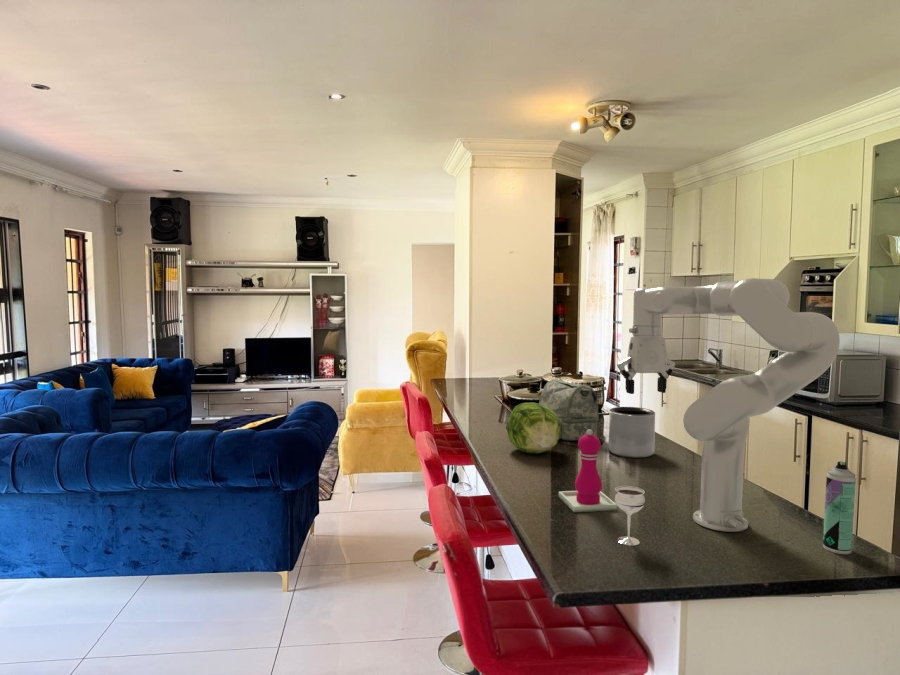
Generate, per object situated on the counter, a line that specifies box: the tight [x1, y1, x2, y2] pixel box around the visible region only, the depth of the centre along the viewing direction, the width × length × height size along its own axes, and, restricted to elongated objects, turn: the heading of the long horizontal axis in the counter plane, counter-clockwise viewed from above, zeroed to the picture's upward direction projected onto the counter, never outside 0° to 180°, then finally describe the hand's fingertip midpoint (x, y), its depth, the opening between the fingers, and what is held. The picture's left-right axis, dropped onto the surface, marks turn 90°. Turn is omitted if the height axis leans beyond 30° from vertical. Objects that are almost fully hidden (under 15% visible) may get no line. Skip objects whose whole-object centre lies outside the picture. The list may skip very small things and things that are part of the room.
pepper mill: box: [574, 429, 603, 505], centre depth 161 cm, size 7×7×20 cm
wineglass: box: [614, 485, 646, 546], centre depth 137 cm, size 7×7×12 cm
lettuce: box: [506, 401, 561, 454], centre depth 213 cm, size 19×23×18 cm
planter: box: [607, 406, 656, 459], centre depth 213 cm, size 16×16×16 cm
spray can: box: [822, 461, 857, 555], centre depth 133 cm, size 6×6×20 cm
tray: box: [558, 490, 618, 513], centre depth 162 cm, size 12×12×2 cm
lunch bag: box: [538, 378, 600, 441], centre depth 240 cm, size 26×18×22 cm
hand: (645, 392), depth 166 cm, fingers open, 9 cm apart
